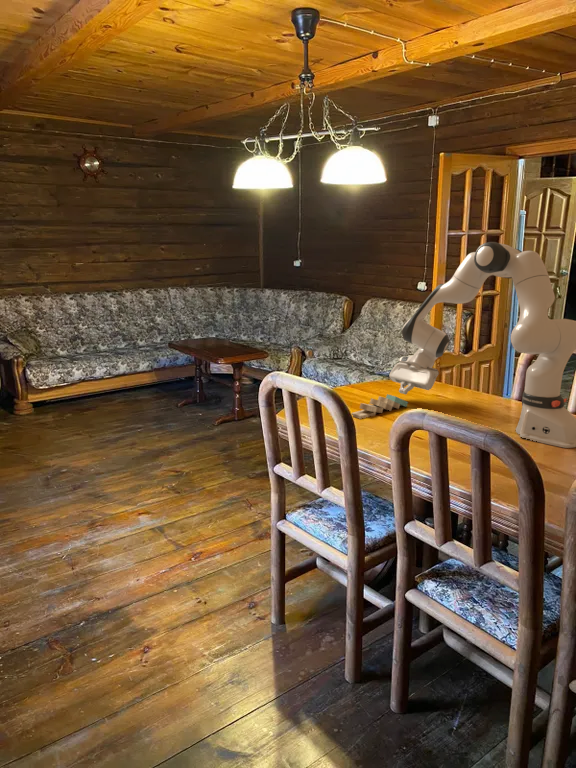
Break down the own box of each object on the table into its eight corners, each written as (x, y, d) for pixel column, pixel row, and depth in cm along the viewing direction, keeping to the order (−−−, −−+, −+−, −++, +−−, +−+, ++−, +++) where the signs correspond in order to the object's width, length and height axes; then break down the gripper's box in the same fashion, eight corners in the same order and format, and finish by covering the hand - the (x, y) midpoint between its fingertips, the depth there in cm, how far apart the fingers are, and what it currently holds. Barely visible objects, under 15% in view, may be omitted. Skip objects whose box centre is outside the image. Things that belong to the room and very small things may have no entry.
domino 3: (392, 406, 228) (380, 400, 223) (390, 411, 228) (378, 405, 223) (383, 403, 232) (371, 398, 226) (381, 408, 231) (369, 403, 226)
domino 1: (375, 412, 223) (360, 415, 218) (375, 417, 223) (360, 421, 219) (367, 409, 226) (351, 412, 222) (366, 414, 227) (351, 418, 222)
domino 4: (400, 404, 231) (388, 398, 226) (398, 409, 231) (386, 403, 225) (391, 401, 234) (379, 396, 229) (389, 406, 234) (377, 401, 229)
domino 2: (383, 408, 225) (369, 405, 220) (382, 413, 225) (368, 411, 220) (374, 405, 228) (360, 403, 223) (373, 410, 229) (359, 408, 223)
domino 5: (408, 402, 233) (396, 396, 228) (406, 407, 233) (394, 401, 228) (399, 399, 237) (387, 394, 232) (397, 404, 237) (385, 399, 232)
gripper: (444, 374, 231) (426, 403, 227) (404, 365, 246) (387, 392, 243) (437, 365, 227) (419, 393, 224) (397, 356, 243) (379, 383, 239)
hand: (402, 392), depth 233 cm, fingers closed
